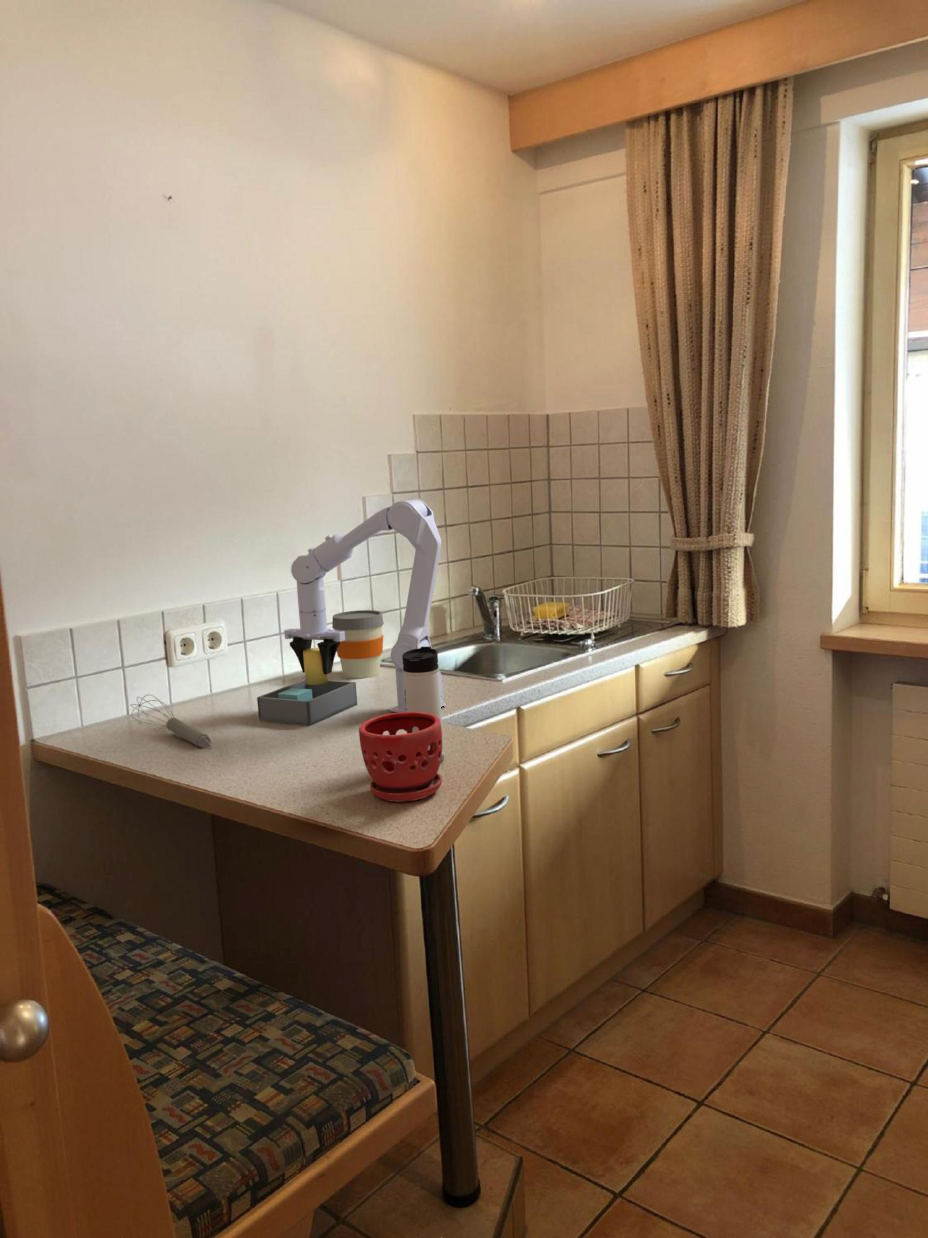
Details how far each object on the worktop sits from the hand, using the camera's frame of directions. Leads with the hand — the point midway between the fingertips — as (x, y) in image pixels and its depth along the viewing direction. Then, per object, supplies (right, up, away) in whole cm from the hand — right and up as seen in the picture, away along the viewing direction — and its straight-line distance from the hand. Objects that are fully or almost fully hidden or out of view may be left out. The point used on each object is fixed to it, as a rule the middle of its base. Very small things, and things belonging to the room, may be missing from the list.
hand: (317, 672), depth 220 cm
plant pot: (+22, -17, -56) cm, 62 cm away
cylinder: (0, -2, 0) cm, 2 cm away
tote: (-1, -8, -2) cm, 9 cm away
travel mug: (+25, -14, -39) cm, 49 cm away
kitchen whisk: (-27, -12, -12) cm, 32 cm away
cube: (-3, -9, -6) cm, 11 cm away
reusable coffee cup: (+6, -2, +32) cm, 32 cm away
